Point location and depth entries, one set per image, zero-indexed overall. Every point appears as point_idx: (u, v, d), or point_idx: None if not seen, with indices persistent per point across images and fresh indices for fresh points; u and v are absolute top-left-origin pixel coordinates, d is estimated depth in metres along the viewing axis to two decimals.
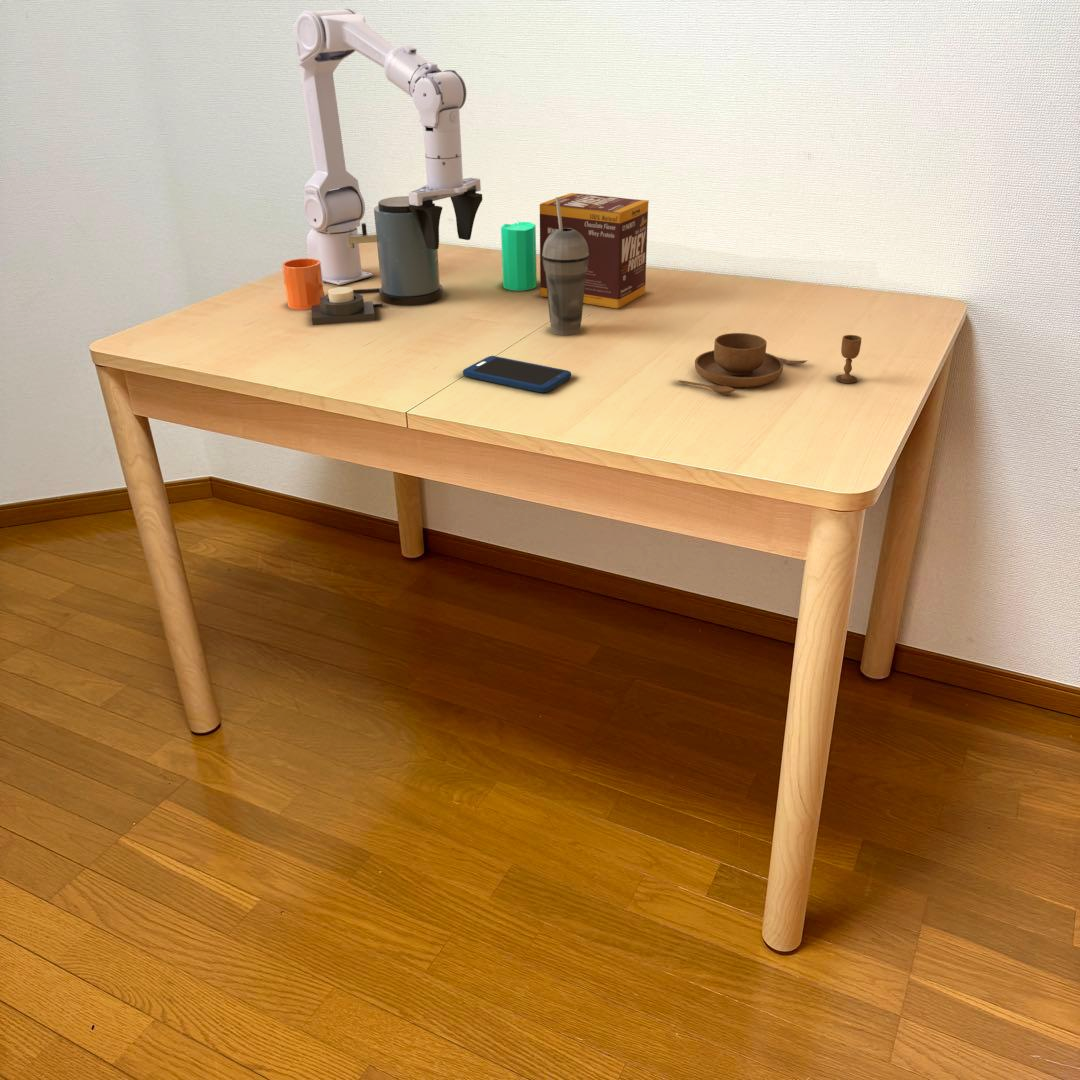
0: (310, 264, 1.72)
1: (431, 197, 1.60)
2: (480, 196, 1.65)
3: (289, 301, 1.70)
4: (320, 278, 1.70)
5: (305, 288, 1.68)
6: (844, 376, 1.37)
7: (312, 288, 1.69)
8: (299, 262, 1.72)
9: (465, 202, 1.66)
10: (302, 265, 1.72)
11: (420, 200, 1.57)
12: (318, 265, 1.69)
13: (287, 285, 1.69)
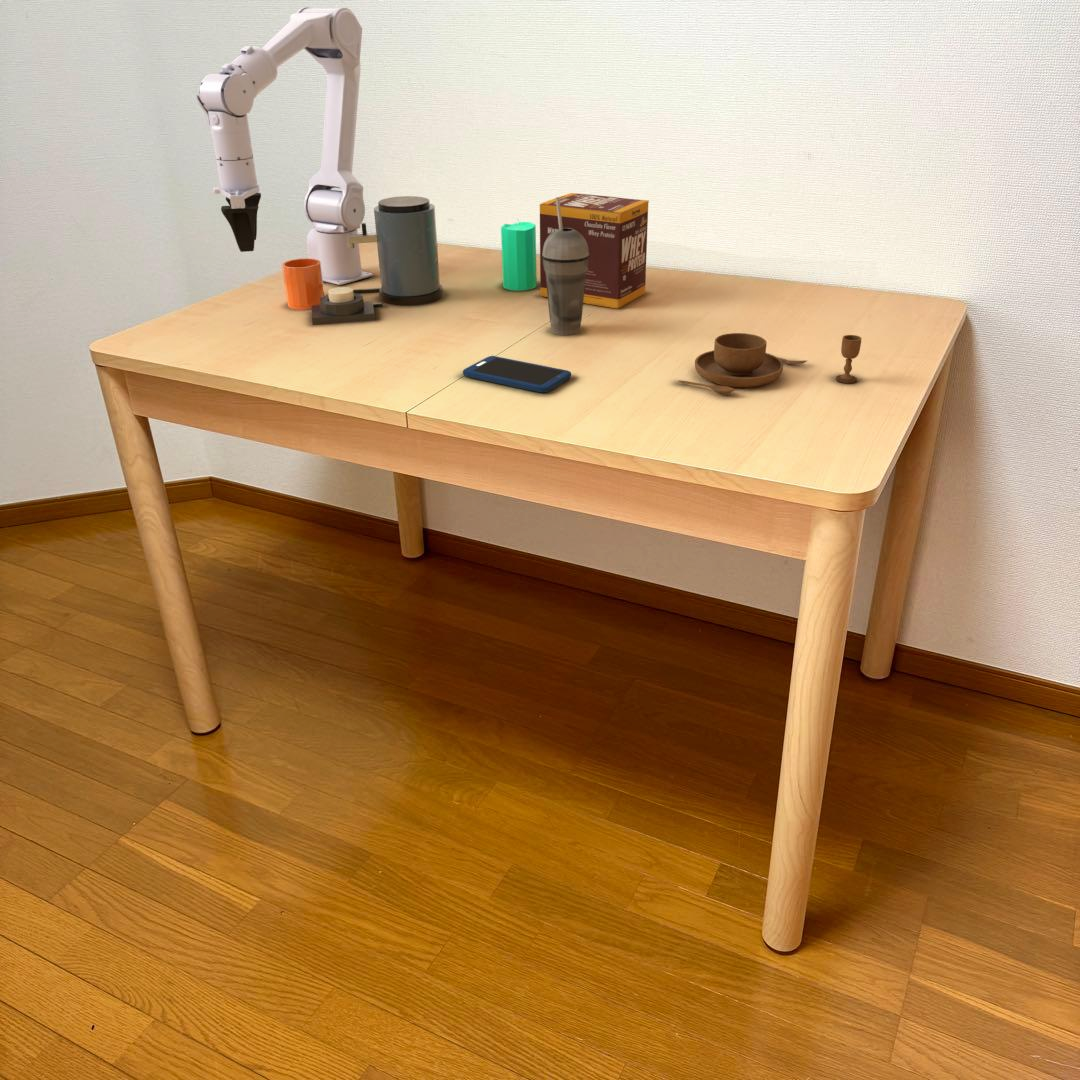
0: (310, 264, 1.72)
1: None
2: (221, 209, 1.58)
3: (289, 301, 1.70)
4: (320, 278, 1.70)
5: (305, 288, 1.68)
6: (844, 376, 1.37)
7: (312, 288, 1.69)
8: (299, 262, 1.72)
9: None
10: (302, 265, 1.72)
11: None
12: (318, 265, 1.69)
13: (287, 285, 1.69)
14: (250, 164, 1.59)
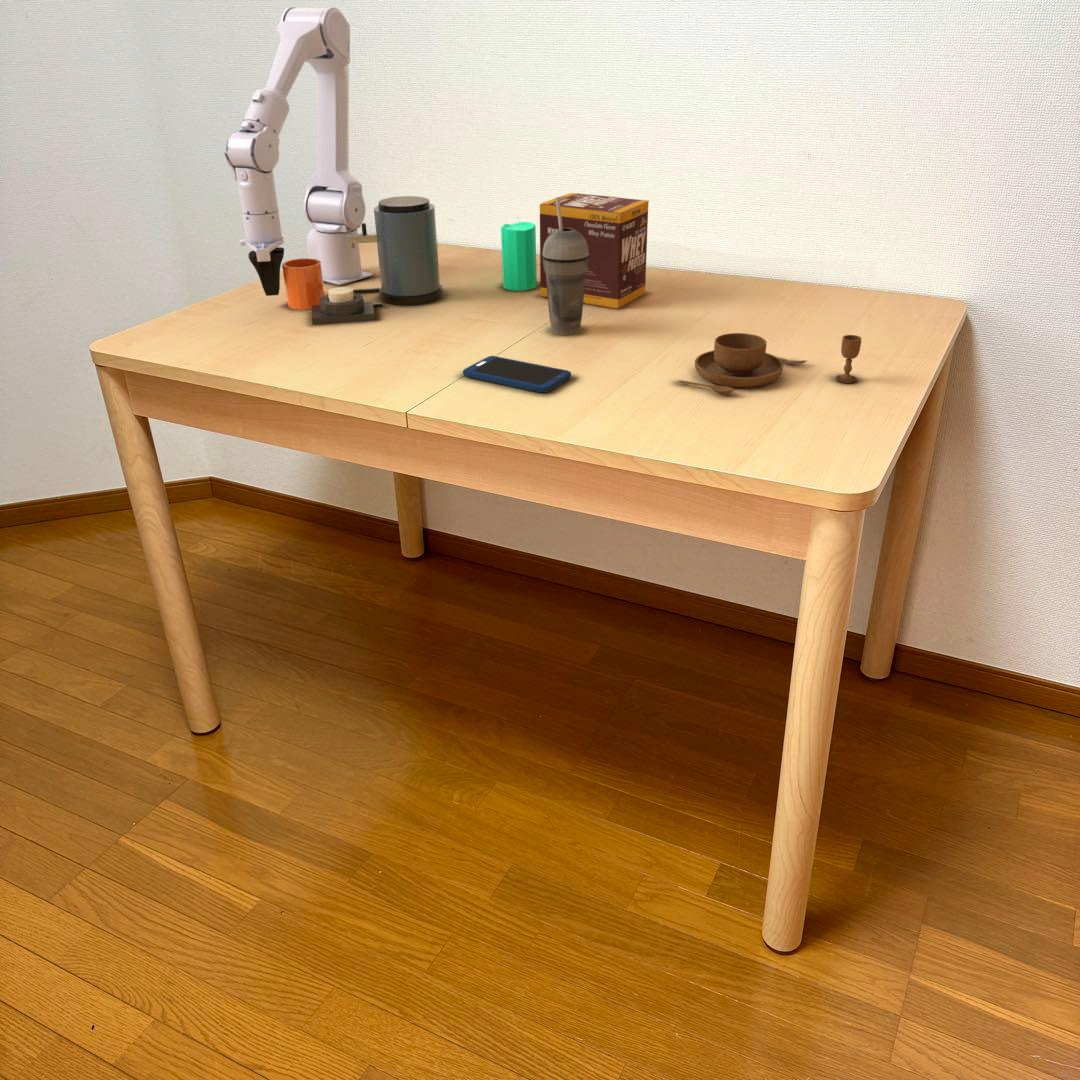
0: (310, 264, 1.72)
1: None
2: (248, 256, 1.66)
3: (289, 301, 1.70)
4: (320, 278, 1.70)
5: (305, 288, 1.68)
6: (844, 376, 1.37)
7: (313, 288, 1.69)
8: (299, 262, 1.72)
9: None
10: (302, 265, 1.72)
11: None
12: (318, 265, 1.69)
13: (287, 285, 1.69)
14: (275, 217, 1.64)
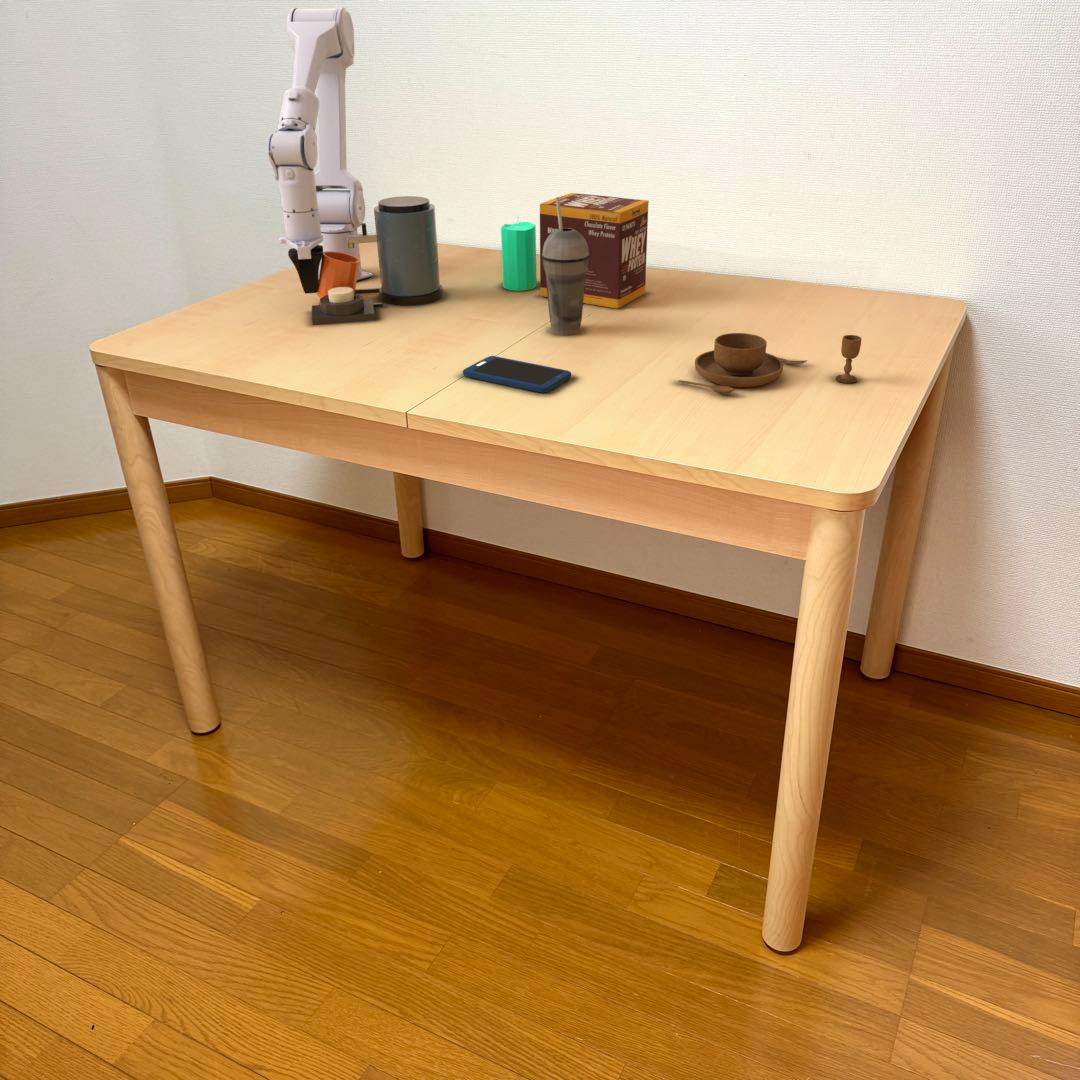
0: (347, 260, 1.73)
1: None
2: (288, 254, 1.67)
3: (320, 290, 1.71)
4: (356, 276, 1.71)
5: (341, 281, 1.69)
6: (844, 376, 1.37)
7: (347, 283, 1.70)
8: (337, 255, 1.73)
9: None
10: (339, 259, 1.73)
11: None
12: (358, 263, 1.70)
13: (323, 274, 1.69)
14: (315, 215, 1.65)
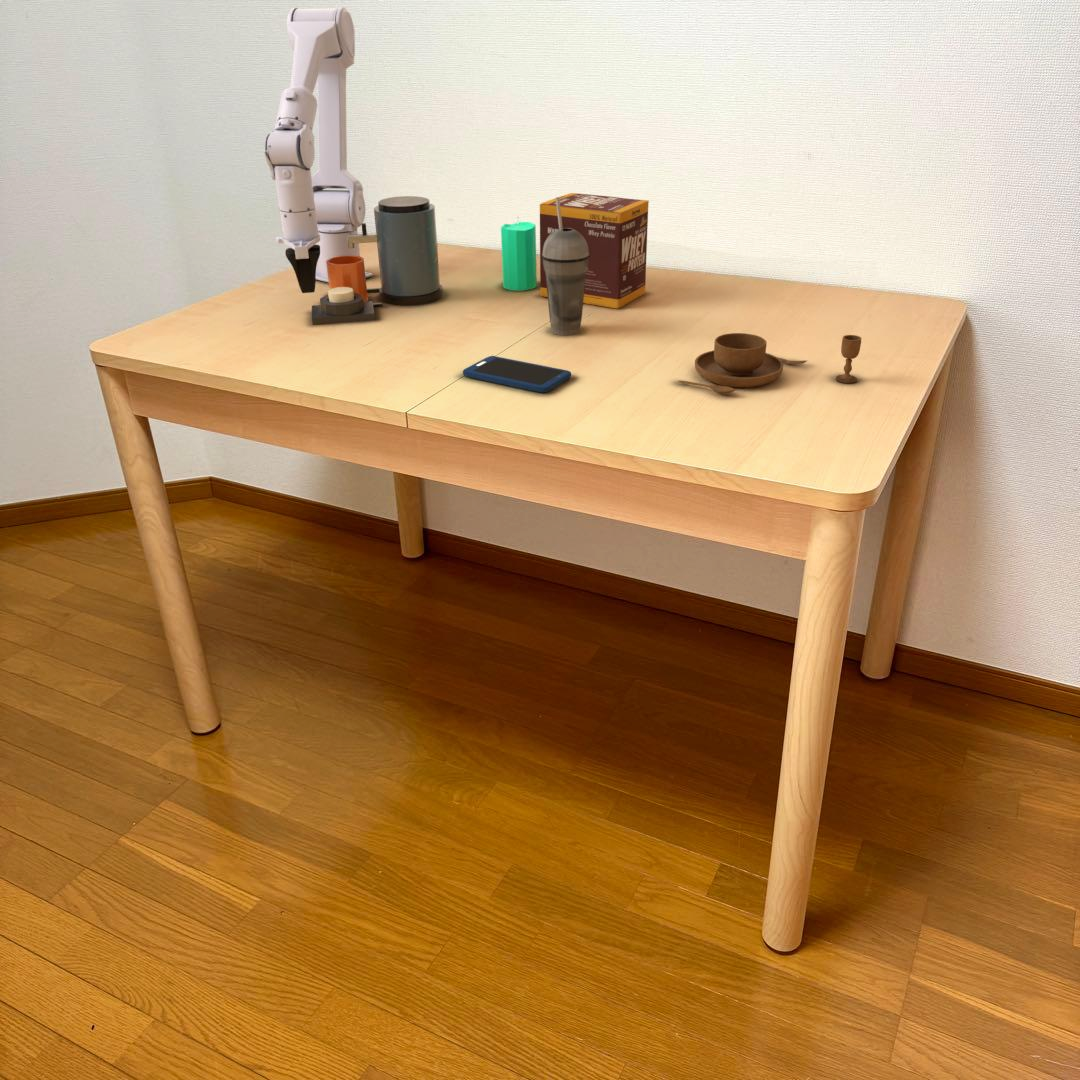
0: (352, 261, 1.73)
1: None
2: (285, 253, 1.67)
3: None
4: (364, 274, 1.71)
5: (350, 284, 1.70)
6: (844, 376, 1.37)
7: (357, 284, 1.71)
8: (341, 259, 1.73)
9: None
10: (344, 262, 1.73)
11: None
12: (362, 262, 1.70)
13: (332, 282, 1.70)
14: (312, 215, 1.65)
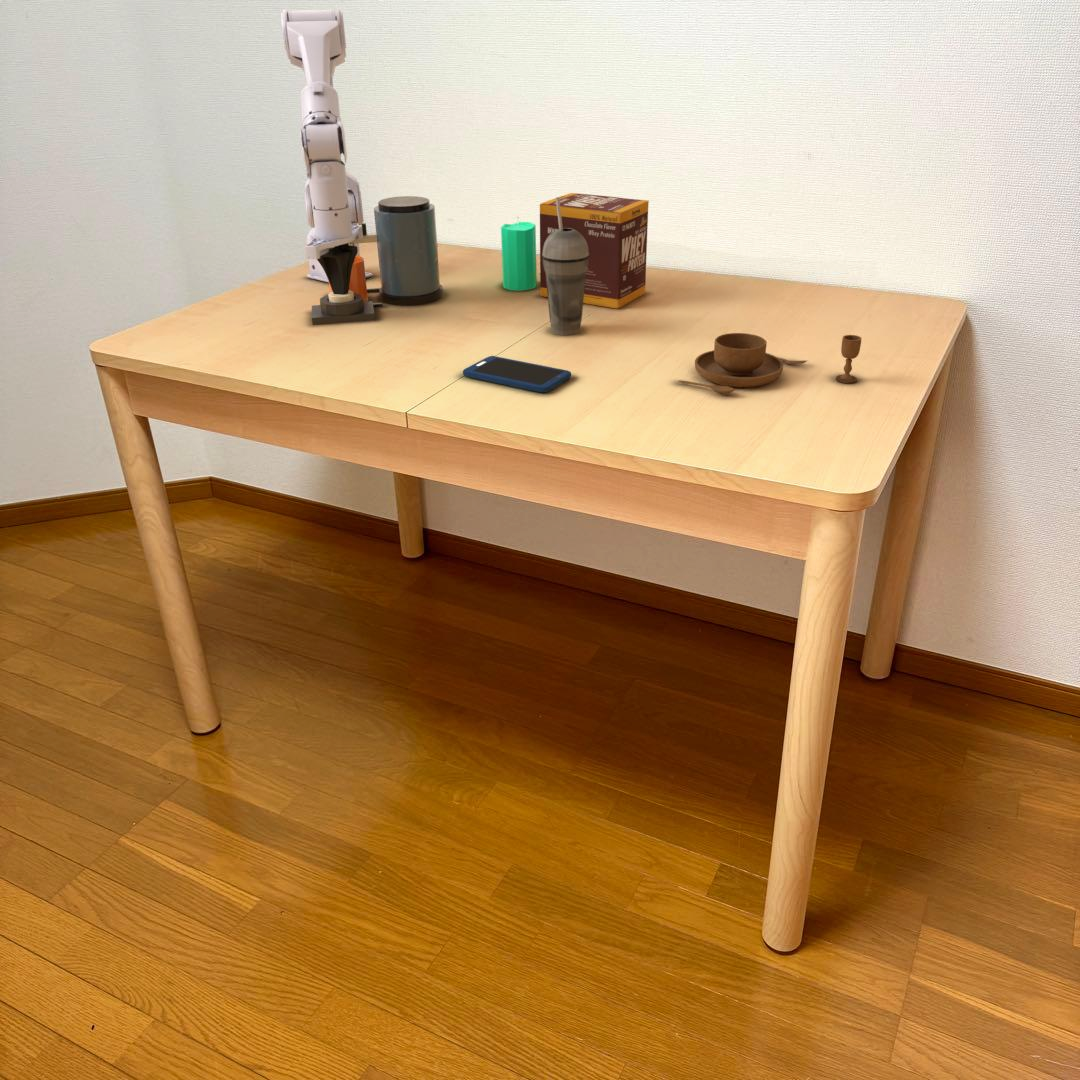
0: None
1: None
2: None
3: None
4: (364, 274, 1.71)
5: (350, 284, 1.70)
6: (844, 376, 1.37)
7: (357, 284, 1.71)
8: None
9: None
10: None
11: None
12: (362, 262, 1.70)
13: None
14: (339, 215, 1.56)
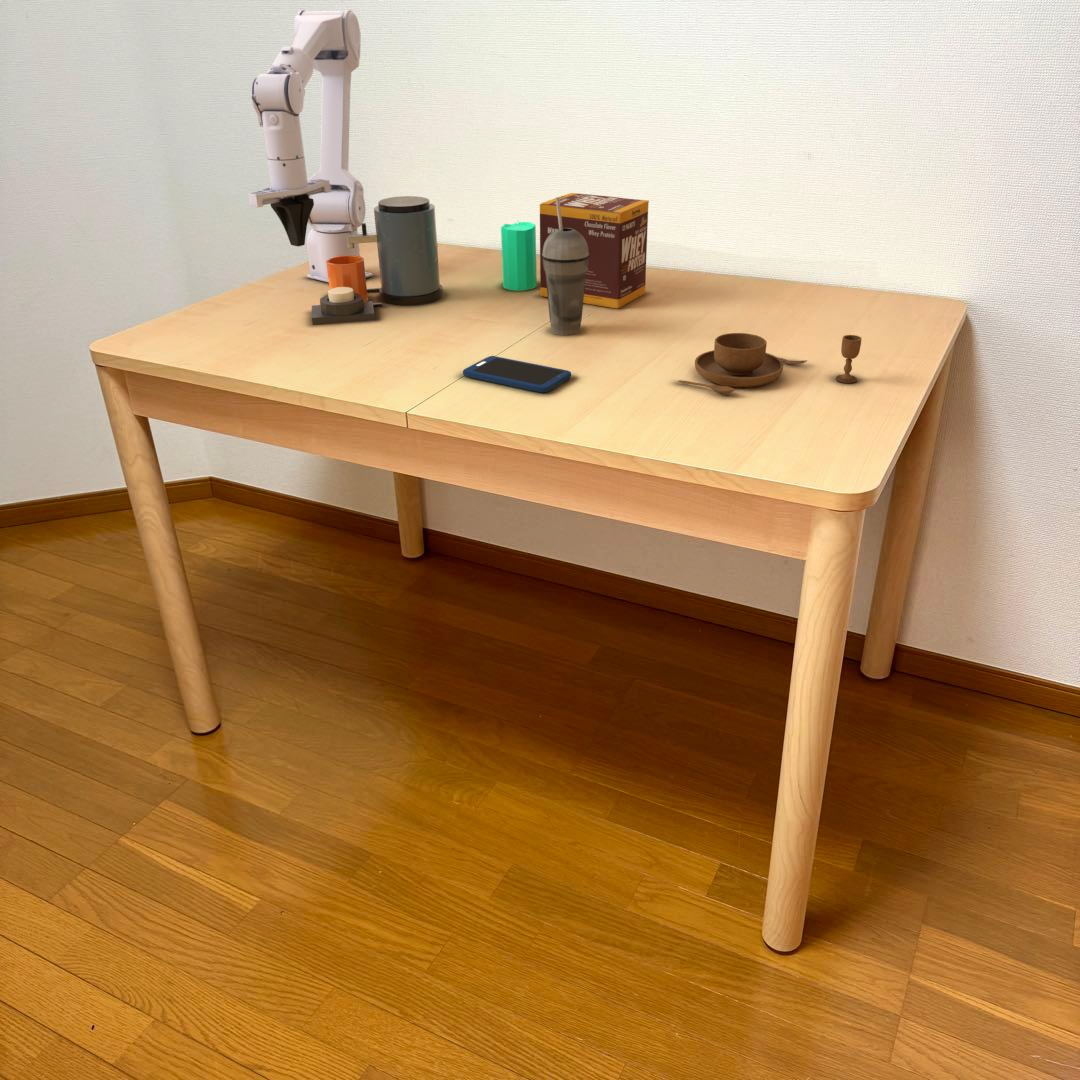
0: (352, 261, 1.73)
1: None
2: None
3: None
4: (364, 274, 1.71)
5: (350, 284, 1.70)
6: (844, 376, 1.37)
7: (357, 284, 1.71)
8: (341, 259, 1.73)
9: None
10: (344, 262, 1.73)
11: None
12: (362, 262, 1.70)
13: (332, 282, 1.70)
14: (288, 166, 1.58)
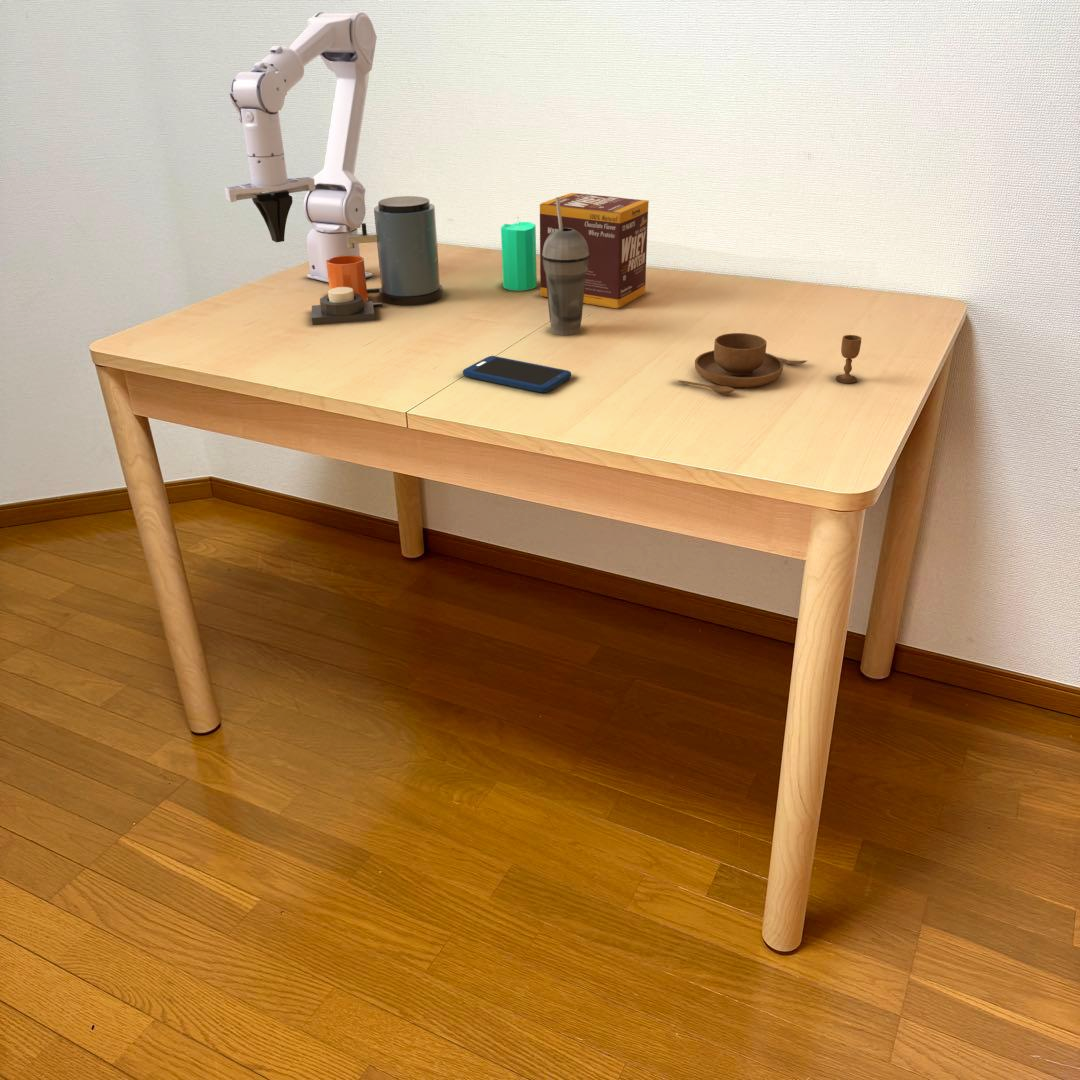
0: (352, 261, 1.73)
1: (290, 188, 1.67)
2: None
3: None
4: (364, 274, 1.71)
5: (350, 284, 1.70)
6: (844, 376, 1.37)
7: (357, 284, 1.71)
8: (341, 259, 1.73)
9: None
10: (344, 262, 1.73)
11: None
12: (362, 262, 1.70)
13: (332, 282, 1.70)
14: (262, 163, 1.60)
